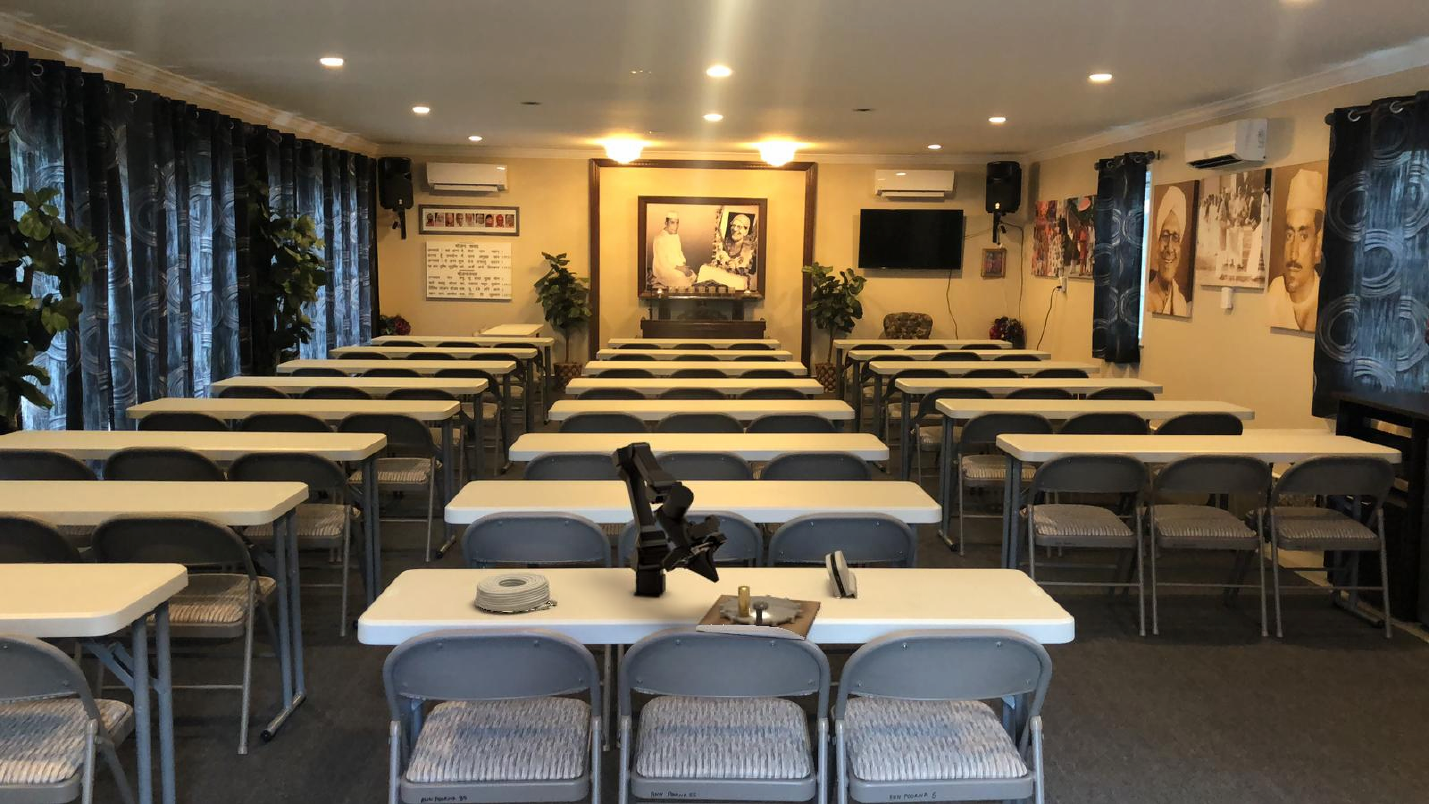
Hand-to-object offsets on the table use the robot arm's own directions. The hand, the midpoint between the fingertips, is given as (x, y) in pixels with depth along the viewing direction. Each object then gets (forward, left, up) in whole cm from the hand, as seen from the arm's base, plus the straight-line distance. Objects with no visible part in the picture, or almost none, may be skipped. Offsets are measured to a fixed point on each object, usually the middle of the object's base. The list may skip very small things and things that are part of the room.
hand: (717, 581), depth 239 cm
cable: (-50, +1, -10) cm, 51 cm away
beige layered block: (+24, +31, -10) cm, 41 cm away
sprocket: (+9, +4, -8) cm, 13 cm away
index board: (+9, +4, -9) cm, 14 cm away
